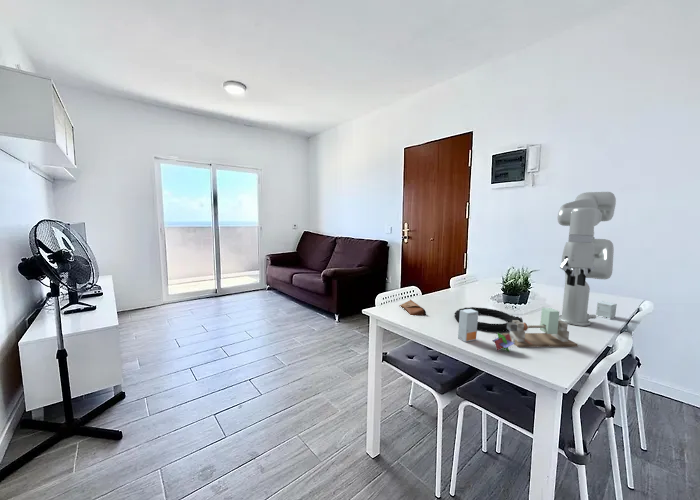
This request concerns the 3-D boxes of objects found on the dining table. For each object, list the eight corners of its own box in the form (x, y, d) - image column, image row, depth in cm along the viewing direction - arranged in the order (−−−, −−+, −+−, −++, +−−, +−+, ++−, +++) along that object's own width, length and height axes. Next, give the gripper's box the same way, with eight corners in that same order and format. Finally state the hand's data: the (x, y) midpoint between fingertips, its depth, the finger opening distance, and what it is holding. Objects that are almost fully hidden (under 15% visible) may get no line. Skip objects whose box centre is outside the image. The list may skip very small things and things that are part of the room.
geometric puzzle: (497, 350, 106) (510, 331, 106) (484, 342, 112) (496, 325, 113) (510, 359, 107) (522, 342, 108) (496, 351, 114) (508, 334, 114)
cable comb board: (556, 335, 125) (558, 317, 124) (577, 346, 114) (579, 326, 114) (500, 335, 124) (501, 317, 123) (516, 347, 113) (517, 327, 112)
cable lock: (450, 304, 157) (512, 308, 151) (450, 311, 157) (511, 315, 151) (459, 322, 130) (534, 328, 124) (458, 330, 130) (533, 337, 124)
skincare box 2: (595, 315, 152) (596, 302, 151) (600, 314, 155) (602, 300, 154) (610, 319, 147) (612, 305, 146) (615, 317, 150) (617, 303, 149)
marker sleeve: (549, 329, 121) (551, 308, 120) (557, 333, 117) (559, 311, 116) (539, 329, 121) (541, 308, 120) (547, 334, 117) (549, 311, 116)
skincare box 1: (465, 342, 117) (467, 313, 115) (457, 338, 120) (459, 310, 119) (476, 340, 119) (478, 311, 118) (468, 336, 123) (470, 308, 122)
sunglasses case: (397, 305, 165) (403, 295, 165) (407, 311, 166) (413, 300, 166) (410, 316, 147) (417, 304, 147) (421, 322, 149) (428, 310, 149)
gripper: (592, 239, 120) (587, 283, 122) (553, 238, 119) (548, 283, 121) (609, 240, 112) (603, 287, 114) (567, 239, 111) (563, 287, 113)
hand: (575, 284), depth 117 cm, fingers open, 3 cm apart
